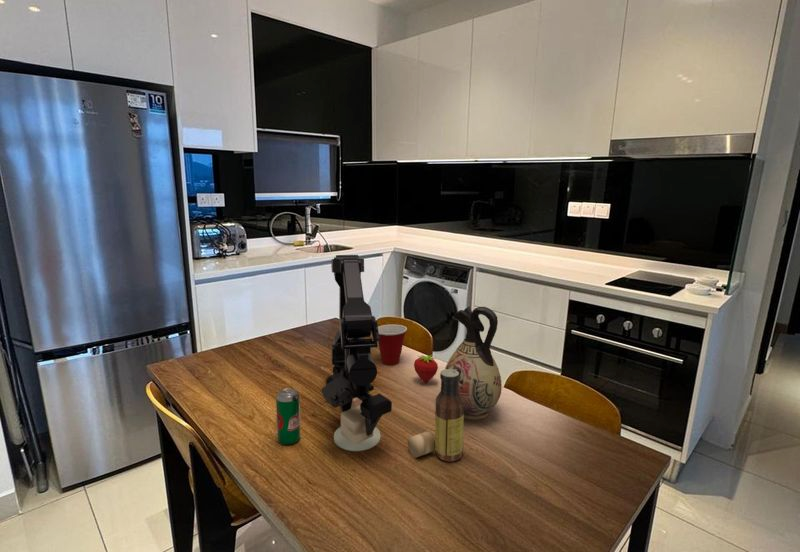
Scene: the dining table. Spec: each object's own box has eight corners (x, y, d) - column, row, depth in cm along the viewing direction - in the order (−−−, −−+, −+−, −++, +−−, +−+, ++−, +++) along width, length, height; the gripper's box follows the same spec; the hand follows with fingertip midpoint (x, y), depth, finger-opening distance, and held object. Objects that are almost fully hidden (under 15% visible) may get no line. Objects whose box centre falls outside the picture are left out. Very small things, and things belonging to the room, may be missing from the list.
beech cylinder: (409, 455, 96) (426, 449, 98) (420, 459, 92) (436, 453, 94) (406, 435, 96) (422, 430, 99) (416, 438, 93) (433, 432, 95)
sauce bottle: (464, 449, 97) (470, 369, 93) (459, 466, 92) (464, 381, 87) (436, 443, 99) (440, 364, 95) (429, 459, 94) (433, 376, 89)
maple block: (359, 425, 105) (359, 405, 103) (373, 436, 101) (373, 415, 99) (340, 433, 101) (340, 413, 100) (354, 444, 97) (354, 423, 96)
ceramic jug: (428, 411, 113) (433, 303, 106) (462, 391, 124) (468, 292, 117) (484, 438, 102) (493, 319, 95) (515, 413, 113) (525, 305, 106)
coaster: (362, 418, 109) (362, 417, 108) (389, 439, 100) (389, 437, 100) (325, 434, 102) (325, 432, 101) (351, 457, 93) (351, 455, 93)
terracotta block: (349, 404, 116) (349, 390, 115) (362, 407, 114) (362, 394, 113) (341, 411, 112) (341, 397, 111) (354, 415, 110) (354, 401, 109)
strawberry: (418, 375, 133) (419, 345, 131) (440, 381, 130) (442, 351, 127) (409, 383, 128) (410, 352, 126) (432, 389, 125) (433, 357, 122)
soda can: (292, 448, 96) (290, 400, 93) (273, 443, 98) (271, 395, 95) (304, 436, 101) (303, 389, 98) (286, 431, 102) (284, 385, 100)
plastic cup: (388, 352, 150) (388, 320, 147) (412, 361, 144) (413, 327, 141) (367, 362, 142) (367, 328, 139) (392, 371, 135) (392, 336, 133)
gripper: (305, 360, 99) (307, 420, 102) (351, 391, 85) (351, 460, 88) (345, 348, 106) (346, 405, 109) (394, 375, 92) (392, 439, 96)
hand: (357, 426), depth 100 cm, fingers open, 9 cm apart
